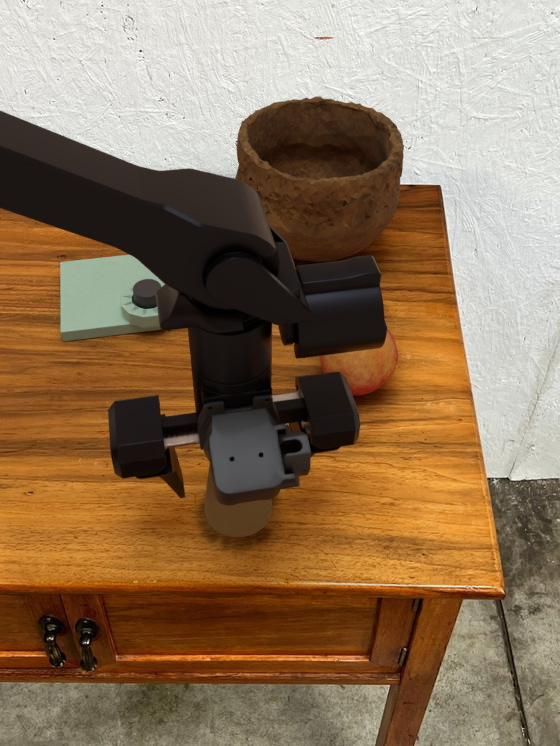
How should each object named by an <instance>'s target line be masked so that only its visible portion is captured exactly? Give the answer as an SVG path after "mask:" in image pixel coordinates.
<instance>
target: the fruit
mask: <svg viewBox="0 0 560 746" xmlns="http://www.w3.org/2000/svg"><path fill="white" fill-rule="evenodd" d="M318 358H319V364H320V367H321V370H322V373H328V372H340V373H341V374H343V375H344V376H345V377H346V378H347V381H348V384H349V387H350V390H351V392H352V395H353V396H364V395H367V394H370V393H372V392H374V391H376V390H377V389H379V388H381V387H382V386H383V385H384V384H386V383H387V382H388V381H389V380H390V379H391V377H392V376H393V374H394V373H395V370H396V369H397V365H398V361H399V350H398V346H397V343H396V341H395V338H394V335H393V334H392V333H391V331H390V329H389V328H388V327H387V335H386V340H385V343H384V345H383V347H381V348H377V349H370V350H362V351H354V352H346V353H339V354H331V355H323V356H318Z"/></svg>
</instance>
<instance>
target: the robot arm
mask: <svg viewBox="0 0 560 746" xmlns="http://www.w3.org/2000/svg"><path fill="white" fill-rule="evenodd" d="M0 209H1V210H3V211H7V212H9V213H13V214H15V215H17V216H22V217H23V218H27V219H29V220H34V221H36V222H39V223H42V224H44V225H47V226H51V227H54V228H57V229H59V230H63V231H66V232H69V233H71V234H74V235H76V236H81V237H83V238H86V239H89V240H92V241H95V242H97V243H101V244H103V245H107V246H109V247H112V248H115V249H118V250H120V251H122V252H123V253H125V254H126V255H131V256H133V257H135V258H136V259H137V260H139V261H140V262H141V263H142V264H143V265H144V266H145V267H146V268H147V269H149V270H150V271H151V272H152V273H153V274H154V275H155V276H156V277H158V278H159V279H160V280H161V281H162V282H163V283H164V285H163V286H162V287H161V288H159V289H158V290H157V291H156V293H155V295H156V303H157V310H158V318H159V325H160V328H161V329H162V330H161V331H164V332H165V331H175V330H181V329H182V330H183V329H187V337H188V344H189V345H188V347H189V354H190V355H189V356H190V358H189V359H190V368H191V369H190V370H191V376H192V378H191V379H192V387H193V388H192V389H193V401H194V409H195V412H188V413H181V414H180V413H179V414H174V415H173V414H172V415H166V413H162V414H161V412H162V411H161V403H160V396H159V395H160V394H155V395H147V396H140V397H132V398H125V399H124V398H123V399H118V400H114V401H113V403H112V404H111V405H110V407H108V408H107V416H108V418H107V419H108V432H109V433H108V434H109V450H110V457H111V459H110V460H111V464H112V468H113V472H114V474H115V475H116V476H118V477H119V478H121V479H123V480H125V479H132V478H135V479H138V480H145V479H153V478H160V479H161V480H163V482H165V484H167V486H168V487H169V488H170V489H171V490H172V491H173V492H174V493H175V494H176V495H177V496H178V497H179V499H185V498H186V492H185V484H184V475H183V471H182V468H181V465H180V460H179V457H178V453H177V450H176V448H178V447H187V446H192V445H199V448H200V450H201V451H204V450H207V451H208V452H209V460H210V462H209V464H210V467H211V473H212V480H213V487H214V494H215V497H216V499H217V501H218V502H219V503H221V504H223V505H227V506H230V505H236V504H239V503H245V502H252V501H258V500H269V499H271V500H273V499H275V498H276V497H277V496H279V495H280V493H281V491H282V490H285V489H292V488H299V487H300V477H304V476H309V474H310V471H311V462H312V461H311V460H312V457H314V455H315V454H322V453H329V452H335V451H338V450H340V449H341V447H348V446H354V445H355V444H356V442H357V441H358V440H359V438H360V431H361V419H360V418H361V417H360V413H359V410H358V407H357V404H356V401H355V399H354V395H352V392H351V390H350V387H349V384H348V381H347V378H346V377H345V376H344V375H343V374H341V373H340V372H328V373H324V372H320V373H313V374H307V375H298V376H295V378H294V379H295V380H294V387H295V391H296V392H290V393H282V394H281V393H280V394H274V395H273V388H272V383H273V382H272V381H273V379H272V375H273V374H272V373H273V371H272V368H273V325H275V326H278V331H279V335H280V339H281V343H282V345H283V346H285V347H286V346H292V345H293V352H294V357H295V359H306V358H307V359H308V358H316V357H319V356H323V355H331V354H339V353H346V352H354V351H362V350H370V349H377V348H381V347H383V345H384V343H385V340H386V335H387V328H388V325H387V322H386V320H385V306H384V300H383V299H384V298H383V294H382V289H381V282H382V271H381V270H380V268H379V266H378V263H377V261H376V259H375V257H374V256H373V255H371V254H369V255H361V256H360V255H359V256H353V257H351V258H347V259H345V260H335V261H327V262H317V263H311V264H310V263H309V264H302V265H295V262H294V259H292V256H291V253H290V250H289V247H288V244H287V241H286V240H285V239H284V238H283V237H282V236H281V235H280V234H279V233H278V232H277V231H276V230H275V229H274V228H273V227H272V226H271V225H270V224H269V223H268V220H267V217H266V214H265V211H264V208H263V205H262V201H261V199H260V198H259V195H258V193H257V192H256V191H255V190H254V189H253V188H252V187H251V186H249V185H248V184H246V183H245V182H243V181H240V180H237V179H235V177H234V178H233V177H229V176H225V175H222V174H221V175H220V174H216V173H213V172H208V171H204V170H200V169H195V168H189V167H188V168H177V169H176V168H175V169H167V170H166V169H165V170H158V169H153V168H149V167H148V168H147V167H143V166H140V165H137V164H134V163H132V162H130V161H127V160H124V159H122V158H120V157H117V156H114V155H113V154H109V153H107V152H104V151H103V150H100V149H97V148H94V147H92V146H89V145H87V144H85V143H82V142H80V141H77V140H74V139H72V138H70V137H67V136H65V135H62V134H59V133H58V132H55V131H52V130H50V129H47V128H44V127H42V126H41V125H37V124H34V123H32V122H31V121H28V120H26V119H22V118H20V117H17V116H15V115H12V114H10V113H7V112H5V111H2V110H0ZM203 449H204V450H203Z"/></svg>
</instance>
